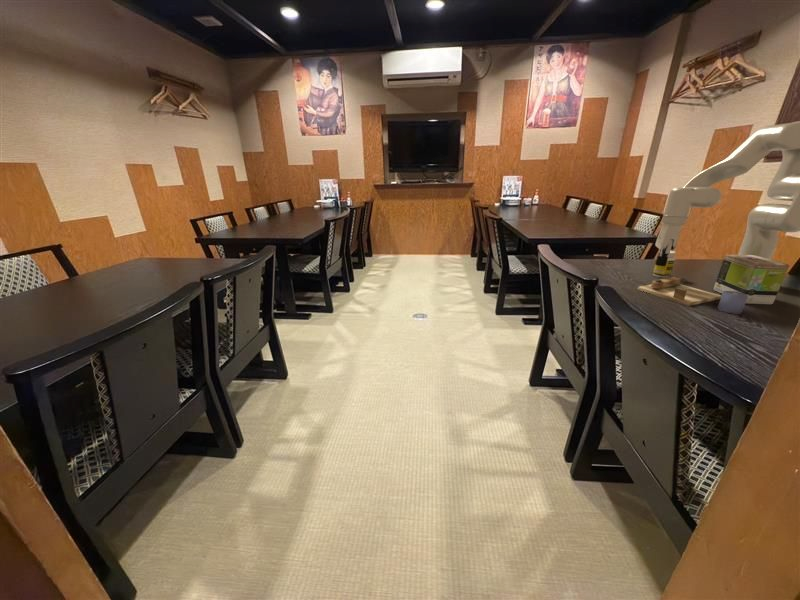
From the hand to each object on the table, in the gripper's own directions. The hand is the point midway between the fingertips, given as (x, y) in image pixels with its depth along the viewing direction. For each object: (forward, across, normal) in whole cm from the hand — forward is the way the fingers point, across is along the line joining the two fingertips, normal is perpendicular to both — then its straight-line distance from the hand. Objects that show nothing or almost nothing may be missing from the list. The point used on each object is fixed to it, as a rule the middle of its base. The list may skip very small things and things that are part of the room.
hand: (660, 265), depth 133 cm
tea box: (+8, +6, +25) cm, 27 cm away
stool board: (+8, +11, +6) cm, 15 cm away
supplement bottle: (+8, -14, +5) cm, 17 cm away
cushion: (+8, +23, +17) cm, 30 cm away
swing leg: (+6, +7, +2) cm, 10 cm away
